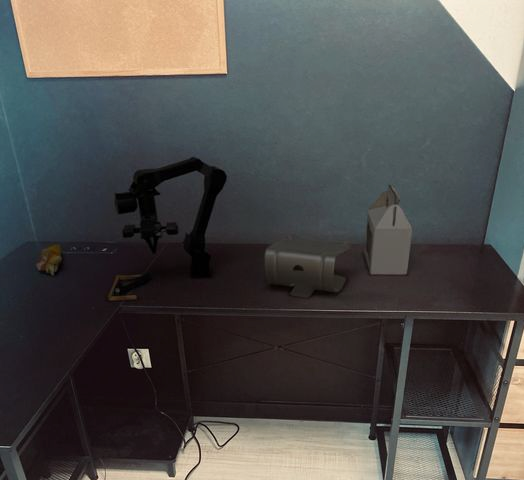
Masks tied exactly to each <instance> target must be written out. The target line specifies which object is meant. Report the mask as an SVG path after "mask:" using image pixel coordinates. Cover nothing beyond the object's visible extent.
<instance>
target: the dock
mask: <svg viewBox="0 0 524 480" xmlns="http://www.w3.org/2000/svg"><path fill="white" fill-rule="evenodd" d="M141 275H142V274H131V275H120V274H116V277H115V278H114V281H113V283H112V286H111V288H110V291H109V293H108V295H107V300H108V301H127V300H129V301H130V300H131V301H132V300H137V299H138V297H137V295H136V294H133V295H131V294H130V295H115V293H114V289H115V287H116V286H118V284H120V281H122V280H123V281H124V280H132V279H134V278H136V277H139V276H141Z"/></svg>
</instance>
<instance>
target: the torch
mask: <svg viewBox="0 0 524 480" xmlns="http://www.w3.org/2000/svg"><path fill="white" fill-rule="evenodd" d="M40 257H41V258H40V259H39V261H38V262H37V263H36V264H35V266H36V268H37V269H38V270H39V271H46V273H47V274H51V276H54V274H55V272H57V270H58V268H59V266H60V265H61V262H62V260H63V257H62V248H61V245H60V244H58V243H57V244H55V243H54V244H53V245H51V246H48V247H47V248H43V249H42V252H41V254H40Z"/></svg>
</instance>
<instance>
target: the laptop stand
mask: <svg viewBox="0 0 524 480" xmlns="http://www.w3.org/2000/svg"><path fill="white" fill-rule="evenodd" d="M351 247H352V244H349V240H343V241H342V243H334V242H333V243H332V242H325V241H324V242H322V241H314V240H305V239H296V238H295V239H293V235H292V234H287V235H286V238H281V239H280V240H278V241H275V242H274V243H273V244H271V245H269V246H267V247H266V249H265V251H264V252H265V253H264V275H265V280H266V282H267V284H269V285H276V286H277V285H278V286H286V287H293V288H292V289H291V291H290V293H289V295H290V296H292V297H298V298H310V297H311V296H312V295H313V293H314V292H315V290H317V291H325V292H330V293H339V292H340V291H341V290H342V288H343V287H344V285H345V283H346V281H347V279H346V277H345V276H342V275H339V274H334V272H335V271H334V270H335V262H336V258H337V257H338V256H339V255H341V254H342V253H344V252H345V251H347V250H348V249H350V248H351ZM296 266H299V267H301V268H302V270H299V269H294V268H295V267H296Z"/></svg>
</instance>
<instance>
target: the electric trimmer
mask: <svg viewBox="0 0 524 480" xmlns="http://www.w3.org/2000/svg"><path fill="white" fill-rule="evenodd" d="M140 275H141V276H139V277H136V278H134V279H128V280H127V281H126V282H122V283H118V285H117V286H116V287H115V289H114V295H117V296H120V295H123V294H124V292H127V291H129V290H130V289H133V288H135V287H140V286H141V285H143V284H144V283H146V282H148V281H149V280H150V279H152V278H151V272H146V273H144V274H140Z"/></svg>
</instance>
